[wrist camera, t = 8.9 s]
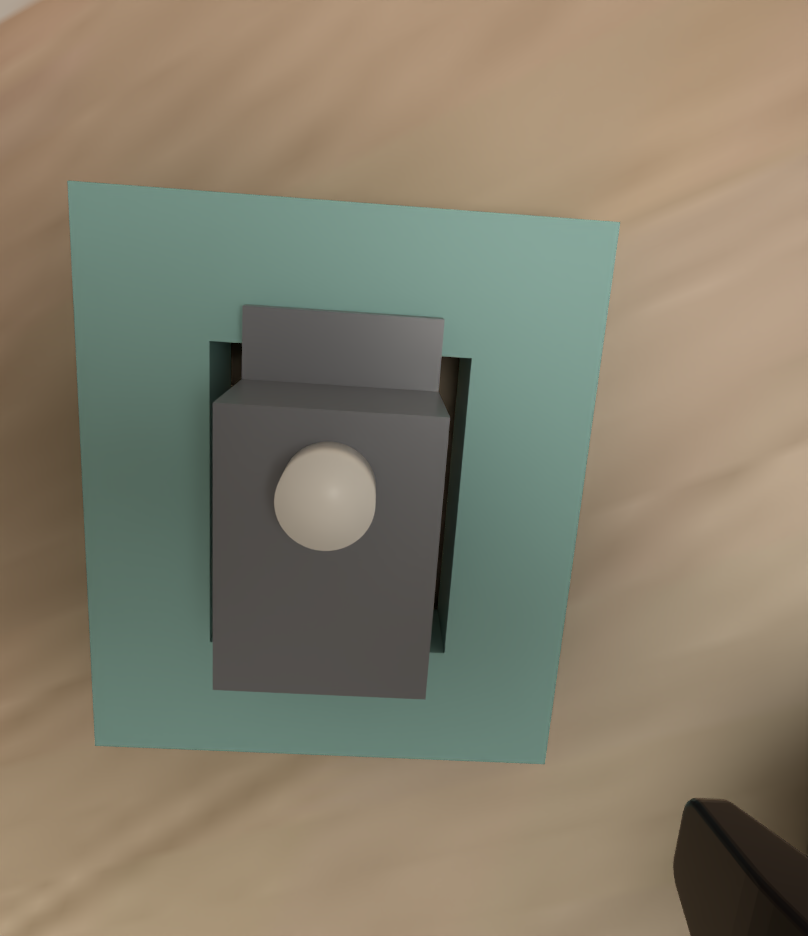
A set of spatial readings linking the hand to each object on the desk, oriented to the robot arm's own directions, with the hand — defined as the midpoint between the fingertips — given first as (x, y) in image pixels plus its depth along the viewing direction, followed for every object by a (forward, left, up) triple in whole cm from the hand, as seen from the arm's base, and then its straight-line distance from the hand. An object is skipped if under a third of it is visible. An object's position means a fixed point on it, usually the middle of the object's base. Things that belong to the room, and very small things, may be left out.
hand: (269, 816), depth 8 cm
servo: (0, 0, -13) cm, 13 cm away
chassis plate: (0, 0, -13) cm, 13 cm away
